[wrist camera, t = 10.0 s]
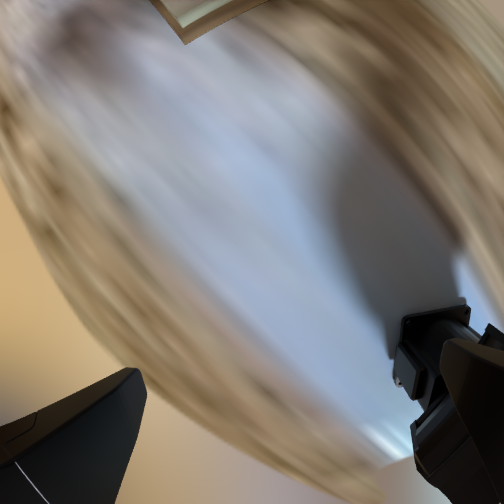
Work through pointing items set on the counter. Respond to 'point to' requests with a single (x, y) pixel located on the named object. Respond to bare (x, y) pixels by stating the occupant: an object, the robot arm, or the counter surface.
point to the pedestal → (200, 14)
